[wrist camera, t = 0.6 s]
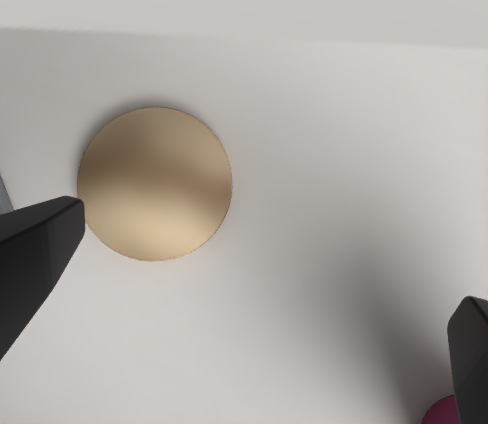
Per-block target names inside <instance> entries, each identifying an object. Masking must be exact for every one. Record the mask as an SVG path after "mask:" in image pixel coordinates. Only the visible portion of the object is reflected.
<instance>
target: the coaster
mask: <svg viewBox="0 0 488 424" xmlns="http://www.w3.org/2000/svg"><path fill="white" fill-rule="evenodd" d="M77 193H78V199H81V200H82V201H83V202H84V206H85V220H86V222H87V224H88V226H89V227H90V229H91V230H92V231H93V233H94V234H95V235H96V236H97V237H98V238H99V239H100V240H101V241H102V242H103V243H104V244H105V245H107V246H108V247H109V248H111V249H112V250H114V251H116V252H118V253H120V254H122V255H124V256H127V257H129V258H133V259H137V260H144V261H162V260H168V259H174V258H177V257H180V256H183V255H185V254H188V253H190V252H192V251H194V250H195V249H197V248H198V247H200V246H201V245H203V244H204V243H205V242H206V241H207V240H209V239H210V237H211V236H212V235H213V234H214V233H215V232H216V231H217V229H218V228H219V226H220V225H221V223H222V221H223V220H224V218H225V216H226V213H227V211H228V208H229V205H230V200H231V195H232V175H231V169H230V165H229V162H228V158H227V155H226V153H225V151H224V149H223V147H222V145H221V143H220V142H219V140H218V139H217V137H216V136H215V135H214V134H213V133H212V131H211V130H210V129H209V128H208V127H206V126H205V125H204V124H203V123H202V122H200V121H199V120H197V119H196V118H194V117H192V116H190V115H188V114H186V113H184V112H181V111H178V110H174V109H169V108H161V107H151V108H143V109H137V110H134V111H131V112H128V113H126V114H123V115H121V116H119V117H117V118H116V119H114V120H112V121H111V122H109V123H108V124H107V125H106V126H105V127H103V128H102V129H101V130H100V131H99V132H98V133H97V134H96V136H95V137H94V138H93V140H92V141H91V142H90V144H89V145H88V147H87V149H86V151H85V153H84V155H83V158H82V160H81V163H80V167H79V171H78V179H77Z"/></svg>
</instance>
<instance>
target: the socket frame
mask: <svg viewBox="0 0 488 424" xmlns="http://www.w3.org/2000/svg"><path fill="white" fill-rule="evenodd" d="M11 211H14V210H13V207H12V205H11V202H10V199H9V197H8V194H7V192H6V189H5V186H4V184H3V181H2V179H1V176H0V215H1V214H4V213H7V212H11Z"/></svg>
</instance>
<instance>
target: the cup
mask: <svg viewBox="0 0 488 424" xmlns="http://www.w3.org/2000/svg"><path fill="white" fill-rule="evenodd" d="M422 424H461V422H460V418H459V413H458V409H457V404H456V399H455V395H453V396H448V397H446V398H444V399H442V400H440V401H438V402H437V403H436V404H434V405H433V406H432V407H431V408H430V410H429V411H428V412H427V414H426V415H425V417H424V419H423V422H422Z"/></svg>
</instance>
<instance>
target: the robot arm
mask: <svg viewBox="0 0 488 424" xmlns="http://www.w3.org/2000/svg"><path fill="white" fill-rule="evenodd" d="M84 233H85V206H84V202H83V201H82V200H81V199H78V198H74V197H70V196H62V197H58V198H55V199H52V200H48V201H45V202H41V203H38V204H35V205H31V206H28V207H24V208H21V209H18V210H14V211H11V212H7V213H4V214H1V215H0V361H1V359H2V358H3V357H4V355H5V354H6V353H7V351H8V350H9V348H10V347H11V346H12V344H13V343H14V342H15V340H16V339H17V338H18V336H19V335H20V334H21V332H22V331H23V330H24V328H25V327H26V325H27V324H28V323H29V321H30V320H31V319H32V317H33V316H34V315H35V313H36V312H37V311H38V309H39V308H40V307H41V305H42V304H43V302H44V301H45V300H46V298H47V297H48V296H49V294H50V293H51V291H52V290H53V288H54V287H55V285H56V284H57V282H58V280H59V279H60V277H61V275H62V273H63V272H64V270H65V268H66V266H67V265H68V263H69V261H70V259H71V258H72V256H73V254H74V252H75V251H76V249H77V247H78V245H79V244H80V242H81V240H82V238H83V236H84ZM447 333H448V342H449V352H450V361H451V371H452V380H453V388H454V394H455V399H456V404H457V409H458V413H459V418H460V422H461V424H488V301H487V300H485V299H481V298H477V297H473V296H467V297H465V298H464V299H463V300H462V301H461V303H460V304H459V306H458V308H457V309H456V311H455V312H454V314H453V315H452V317H451V318H450V320H449V322H448V326H447Z"/></svg>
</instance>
